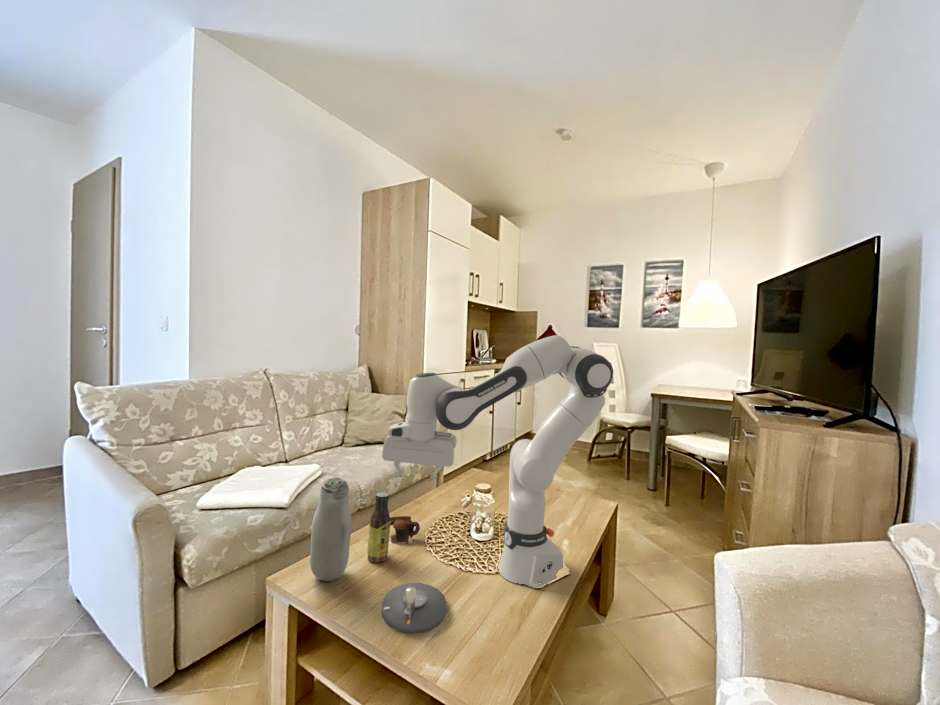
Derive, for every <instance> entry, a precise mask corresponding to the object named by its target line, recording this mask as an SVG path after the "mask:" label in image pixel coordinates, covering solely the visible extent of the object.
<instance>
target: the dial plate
mask: <svg viewBox="0 0 940 705" xmlns="http://www.w3.org/2000/svg"><path fill="white" fill-rule="evenodd" d="M408 586H414V587H415V588H416V589H419V590H422V591H424V592H425V593H426V595H427V602H426V605H425V606H424V607H422V608H420V609H414V611H413V613H412V615H411V617H410V618H407V617H404V611H405V606H404V604H403V595H404V593H405V592H406V588H407V587H408ZM381 605H382V608H381V615H382V619H383V621H384V622H385V623H386V624H387V625H388V626H389V627H390V628H392V629H393V630H395V631H397V632H401V633H404V634H423V633H425V632H428V631H429V632H430V631H431V630H434V629H435V628H437V627H438V626H440V624H441V623H442V621H444V619H445V616H446V609H447V599H446V596H445V595H444V594H443V592H441V590H440V589H438V588H436V586H433V585H430V584H427V583H421V582H407V583H404V584H403V583H402V584H400V585H399V584H398V585H397V586H395V587H393V588H392V589H390V590H389V591H388V592H387V593H386V594H385V595H384V597H383V600H382V604H381Z"/></svg>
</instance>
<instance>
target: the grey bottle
mask: <svg viewBox="0 0 940 705" xmlns="http://www.w3.org/2000/svg"><path fill="white" fill-rule="evenodd" d="M349 491H350V488H349V484H348V482H347V481H346V480H344V479H343V478H341V477H330V478H328V479H326V480H324V482H323V483H322V485H321V488H320V491H319V492H320V494H319V498H318V499H319V500H318V503H317V505H316V506H317V507H316V510H315V511H314V515H313V518H312V522H311V533H310V537H311V538H310V552H309V553H310V555H309V566H310V570H311V573H312V574H313V575H314V577H316V579H318V580H320V581H325V582H331V581H335V580H336V579H338V578H340V577H341V576H342V575H343V574H344V572H345V570H346V568H347V565H348V561H349V556H350V546H351V545H350V544H351V535H352V522H353V521H352V520H353V517H352V512H351V506H350V502H349V501H350V499H349V495H350V494H349V493H350V492H349Z"/></svg>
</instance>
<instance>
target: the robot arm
mask: <svg viewBox="0 0 940 705" xmlns="http://www.w3.org/2000/svg"><path fill="white" fill-rule="evenodd" d="M556 374H558V375H560V376H561V377H562V378H563V379H565V380H566V381H567V382H569V383H570V387H569V390H568V392H567V394H566V395H565V396H564V397H563V399H562V400H561V401H560V402H559V403H558V404H557V405H556V406H555V407H554V408H553V409H552V410H551V412H550V413H549V414H548V415H547V416H546V417H545V418H544V419H543V420H542V422H541V423H540V425H539V428H538V430H537V432H536V434H534V437H533V438H532V439H529V438H523V439H519V440H517V441H516V442H514V444H513V445H512V447H511V449H510V452H509V453H510V455H509V471H508V472H509V476H508V478H509V479H508V506H507V517H506V522H505V524H504V535H503V538H504V539H503V540H504V543H503V549H502V553H501V555H500V556H501V557H500V560H499V561H498V562H499V563H498V564H497V570H498V569H499V571H498V573H499V572H500V573H499V574H500V576H501V577H503V578H504V579H506V581H509V582H511V583H513V584H516V583H519V584H518V585H521V584H527V585H531V586H533V587H541V586H543V585H544V584H547V583H548V582H550V581H552V580H554V579H556V578H557V576H556V574H557V573H558V571H559V570H560V569H562V568H563V561H564V558H563V553H562V551H561V549H560V547H558V545H556V543H554V542H553V541H552V540H551V539H550V538H552V537H554V535H555V531H554V530H553V529H551V527H547V526H545V525H544V524H545V523H544V522H545V512H546V497H545V496H546V494H545V491H546V490H548V488H549V487H550V486H551V485H552V483H553V481H554V478H555V474H556V472H557V470H558V469H559V467H560V465H561V464H562V462H563V461H564V459H565V458H566V455H567V454H568V453H569V451H570V450H571V449H572V447H573V446H574V445H575V443H576V442H577V441H578V440H579V439H580V438H581V437H582V435H583V434H584V433H585V432H586V431H588V429H589V427H590V426H591V425H592V424H593V423H594V421H595V420H596V419H597V417H598V416H599V415H600V413H601V412H602V410H603V408H604V406H605V404H606V398H605V395H604V394H606V392H607V390H608V388H609V387H610V384H611V383H612V380H613V377H614V369H613V366H612V364H611V362H610V361H609V360H608V359H607V358H606V357H604V356H603V355H601V354H599V353H597V352H595V351H592V350H590V349H585V348H581V347H579V346H571V345H570V344H569V342H568V341H567V340H566V339H565V338H564V337H562V336H561V335H557V334H554V335H551V336H546V337H543V338H540V339H538V340H535V341H532V342H530V343H528V344H526V345H524V346H522V347H520V348H518V349H516V350H515V351H514V352H513V353H511V354H510V355H509V356H507V357H506V359H505V361H504V363H503V366H502V367H501V369H500V370H499V372H497V373H496V374H495V375H493V376H492V377H490V378H488V379H486V380H485V381H483V382H481V383H479V384H477V385H475V386H473V387H472V388H470V389H464V388H463V387H460V386H459V385H458V386H457V385H456V384H453V383H451V382H449V381H446V380H445V379H443V378H442V377H441V376H439V374H438V373H435V372H422V373H418V374H416V375H414V376H413V377H412V378H410V380H409V384H408V387H407V394H406V408H407V410H406V416H405V419H404V420H405V421H403V422H397V423H394V424H392V425H391V426H390V427H389V428H388V430H387V437H386V438H385V439H384V443H383V446H382V451H381V458H382V459H383V460H384V461H387V462H393V466H394V467H395V470H396V471H397V472H396V474H397V476H396V478H403V477H404V471H405V469H402V467H401V463H408V464H414V465H415V464H418V465H428V466H435V468H434V469H435V472H431V473H430V480H429V481H433V482H434V481H435V482H436V481H437V475H438V473H439V472H440V471H441V469H442V467H448V468H449V467H451V466H453V465H454V462H455V448H456V446H457V437H456V435H454V434H453V433H452V432H444V431H443V432H442V431H437V424H438V423H439V424H440V425H441V426H442V427H444V428H446V429H448V430H450V431H451V430H452V431H459V430H460V431H461V430H463V429H465V428H467V427H468V426H469V425H470V424H472V422H473V421H474V419H475V418H476V417H477V416H478V415H479V414H480V413H481V412H482V411H484V410H485V409H487V408H489V407H491V406H493V405H494V404H496V403H498V402H499V401H501V400H503V399H504V398H507V397H508V396H510V395H512V394H513V393H515V392H516V393H517V392H519V391H522V390H523V389H526V388H528V387H531V386H533V385H535V384H538V383H540V382H542V381H543V380H546V379H548V378H549V377H551V376H552V375H556ZM437 421H438V423H437ZM547 535H548V536H549V538H548V536H547ZM539 583H541V584H539Z"/></svg>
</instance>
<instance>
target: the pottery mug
mask: <svg viewBox="0 0 940 705" xmlns="http://www.w3.org/2000/svg"><path fill="white" fill-rule="evenodd" d="M390 519H391V522H390V527H391V526H392V527H393V529H394V530H395V534H391V535H390V541H391V543H402V544H403V543H408V542H409V538H410V539H412V538H414V536H416V535H417V534H418V533H419V532H420V530H421V527H420V523H419V522H417V521H413V520H412V516H409V515H402V516H401V515H399V516H392V517H391V516H390Z"/></svg>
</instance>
